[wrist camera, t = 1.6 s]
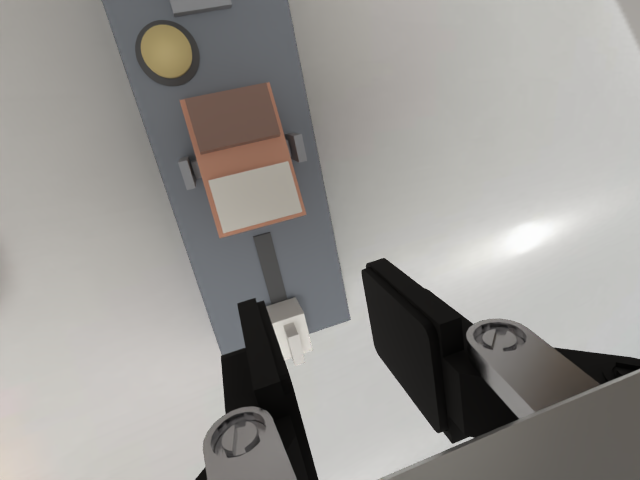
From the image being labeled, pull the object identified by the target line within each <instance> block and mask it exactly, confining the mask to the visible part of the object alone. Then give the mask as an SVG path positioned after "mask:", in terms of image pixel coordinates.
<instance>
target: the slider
mask: <svg viewBox="0 0 640 480" xmlns="http://www.w3.org/2000/svg"><path fill="white" fill-rule="evenodd" d="M266 308H267V311H268V314H269V317H270V320H271V322H272V325H273V328H274V331H275V334H276V337H277V340H278V343H279V346H280V349H281V352H282V355H283V358H284V360H286V359H289V358H292V359H293V361H294V364H295V366H298V365H301V364H304V363H306V362H305V358H304V353H307V352H310V351H313V348H312V344H311V340H310V336H309V332H308V328H307V323H306V319H305V315H304V312H303V310H302V308H301V306H300V305H299V303H298V301H297V299H296V297H294V298H291V299H288V300H285V301H281V302H278V303H275V304H272V305H269V306H266Z"/></svg>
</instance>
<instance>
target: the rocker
mask: <svg viewBox="0 0 640 480" xmlns="http://www.w3.org/2000/svg"><path fill="white" fill-rule="evenodd" d="M179 101H180V104H181V107H182V111H183V114H184V118H185V121H186V125H187V128H188V132H189V135H190V138H191V142H192V145H193V149H194V152H195V156H196V159H197V163H198V166H199V169H200V173H201V176H202V180H203V183H204V187H205V190H206V194H207V197H208V201H209V204H210V207H211V211H212V214H213V218H214V221H215V225H216V228H217V232H218V235H219V238H224V237H228V236H231V235H235V234H239V233H242V232H246V231H250V230H253V229H257V228H261V227H264V226H268V225H272V224H275V223H279V222H283V221H286V220H290V219H294V218H297V217H301V216H304V215H307V214H306V211H305V207H304V203H303V200H302V196H301V193H300V189H299V186H298V182H297V178H296V175H295V171H294V168H293V164H292V161H291V157H290V153H289V150H288V146H287V143H286V139H285V136H284V132H283V128H282V125H281V121H280V118H279V114H278V111H277V107H276V103H275V100H274V96H273V93H272V89H271V86H270V82H268V83H261V84H256V85H251V86H246V87H241V88H236V89H231V90H226V91H221V92H216V93H211V94H206V95H201V96H196V97H191V98H186V99H183V100H179Z"/></svg>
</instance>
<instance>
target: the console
mask: <svg viewBox="0 0 640 480" xmlns="http://www.w3.org/2000/svg"><path fill="white" fill-rule="evenodd" d="M102 2H103V5H104V8H105V11H106V14H107V17H108V20H109V23H110V26H111V29H112V32H113V35H114V38H115V41H116V44H117V47H118V50H119V53H120V56H121V59H122V62H123V64H124V67H125V70H126V73H127V76H128V79H129V82H130V85H131V88H132V91H133V94H134V97H135V100H136V103H137V106H138V109H139V112H140V115H141V118H142V121H143V124H144V127H145V130H146V132H147V135H148V138H149V141H150V144H151V147H152V150H153V153H154V156H155V159H156V162H157V165H158V168H159V171H160V174H161V177H162V180H163V183H164V186H165V189H166V192H167V195H168V198H169V200H170V203H171V206H172V209H173V212H174V215H175V218H176V221H177V224H178V227H179V230H180V233H181V236H182V239H183V242H184V245H185V248H186V251H187V254H188V257H189V260H190V263H191V266H192V268H193V271H194V274H195V277H196V280H197V283H198V286H199V289H200V292H201V295H202V298H203V301H204V304H205V307H206V310H207V313H208V316H209V319H210V322H211V325H212V328H213V331H214V334H215V336H216V339H217V342H218V345H219V348H220V351H221V354H222V355H224V354H227V353H230V352H233V351H236V350H239V349H242V348H245V342H244V337H243V332H242V327H241V322H240V316H239V311H238V306H237V303H240V302H243V301H246V300H250V299H253V298H256V302H260V301H263V300H264V302H265V305H266V306H269V305H272V304H275V303H278V302H281V301H285V300H288V299H291V298H294V297H296V299H297V301H298V303H299V305H300V306H301V308H302V310H303V312H304V315H305V319H306V323H307V328H308V332H309V334H310V333H313V332H316V331H319V330H322V329H325V328H328V327H331V326H334V325H337V324H340V323H343V322H346V321H349V320H351V319H350V314H349V309H348V304H347V299H346V294H345V289H344V284H343V279H342V273H341V268H340V263H339V258H338V253H337V248H336V243H335V238H334V233H333V228H332V223H331V217H330V212H329V207H328V202H327V197H326V192H325V187H324V182H323V177H322V172H321V167H320V161H319V156H318V151H317V146H316V141H315V136H314V131H313V126H312V121H311V116H310V111H309V106H308V100H307V95H306V90H305V85H304V80H303V75H302V70H301V65H300V60H299V55H298V50H297V44H296V39H295V34H294V29H293V24H292V19H291V14H290V9H289V4H288V0H102ZM268 82H270V86H271V89H272V93H273V96H274V100H275V103H276V107H277V111H278V114H279V118H280V121H281V125H282V128H283V132H284V136H285V139H286V143H287V146H288V150H289V153H290V157H291V161H292V164H293V168H294V171H295V175H296V178H297V182H298V186H299V189H300V193H301V196H302V200H303V203H304V207H305V211H306V214H307V215H304V216H301V217H297V218H294V219H290V220H286V221H283V222H279V223H275V224H272V225H268V226H264V227H261V228H257V229H253V230H250V231H246V232H242V233H239V234H235V235H231V236H228V237H224V238H219V235H218V232H217V228H216V225H215V221H214V218H213V214H212V211H211V207H210V204H209V201H208V197H207V194H206V190H205V187H204V183H203V180H202V176H201V173H200V169H199V166H198V163H197V159H196V156H195V152H194V149H193V145H192V142H191V138H190V135H189V132H188V128H187V125H186V121H185V118H184V114H183V111H182V107H181V104H180V101H179V100H183V99H186V98H191V97H196V96H201V95H206V94H211V93H216V92H221V91H226V90H231V89H236V88H241V87H246V86H251V85H256V84H261V83H268Z"/></svg>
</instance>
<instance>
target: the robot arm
mask: <svg viewBox="0 0 640 480" xmlns="http://www.w3.org/2000/svg"><path fill="white" fill-rule="evenodd" d="M362 279H363V285H364V290H365V296H366V302H367V307H368V313H369V318H370V324H371V330H372V335H373V341H374V346H375V349H376V351H377V353H378V355H379V356H380V358H381V359H382V360H383V362H384V363H385V364H386V366H387V367H388V368H389V370H390V371H391V372H392V374H393V375H394V376H395V378H396V379H397V380H398V382H399V383H400V384H401V386H402V387H403V388H404V390H405V391H406V392H407V394H408V395H409V397H410V398H411V399H412V401H413V402H414V403H415V405H416V406H417V407H418V409H419V410H420V411H421V413H422V414H423V415H424V417H425V418H426V419H427V421H428V422H429V423H430V425H431V426H432V427H433V429H434V430H435V431H436V432H437V433H440V432H444V434H445V435H446V436H447V437H448V439H449V440H450V441H451V443H452V444H453V443H456V442H458V441H460V440H463V439H465V438H467V437H474V438H473V439H471V440H469V441H466V442H464V443H462V444H459V445H457V446H455V447H452V448H450V449H448V450H445V451H443V452H441V453H438V454H436V455H434V456H431V457H429V458H427V459H424V460H422V461H420V462H417V463H415V464H413V465H410V466H408V467H406V468H403V469H401V470H399V471H396V472H394V473H392V474H389V475H387V476H385V477H382V478H380V479H378V480H640V359H637V358H632V357H624V356H616V355H608V354H600V353H592V352H584V351H577V350H569V349H561V348H553V347H552V346H550V345H549V344H548V343H546V342H545V341H544V340H543V339H541V338H540V337H539V336H537V335H536V334H535V333H534V332H532V331H531V330H530V329H528V328H527V327H525V326H524V325H522V324H520V323H517V322H514V321H511V320H506V319H487V320H482V321H479V322H477V323H474V324H473V323H471V322H470V321H469V320H467V319H466V318H465V317H463V316H462V315H461V314H459V313H458V312H457V311H455V310H454V309H453V308H451V307H450V306H449V305H448V304H446V303H445V302H444V301H442V300H441V299H440V298H438V297H437V296H436V295H434V294H433V293H432V292H430V291H429V290H427V289H424V288H423V287H422V286H420V285H419V284H418V283H416V282H415V281H414V280H413V279H411V278H410V277H409V276H407V275H406V274H405V273H403V272H402V271H401V270H399V269H398V268H397V267H396V266H394V265H393V264H392V263H390V262H389V261H388V260H386V259H385V258H383V259H380V260H376V261H373V262H370V263H367V265H366V269H363V270H362ZM237 306H238V311H239V316H240V322H241V327H242V332H243V337H244V342H245V348H242V349H239V350H236V351H233V352H230V353H227V354H224V355H222V356H221V363H222V375H223V387H224V399H225V412H226V414H225V415H224V416H222V417H221V418H220V419H218V420H217V421H216V422H215V423H214V424H213V425H212V426H211V428H210V429H209V430H208V432H207V434H206V436H205V439H204V441H203V453H204V460H205V468H204V470H203V471H202V472H201V473H200V474H199V476H198V477H197V478H196V479H195V480H318V477H317V473H316V469H315V466H314V462H313V458H312V455H311V451H310V447H309V444H308V440H307V436H306V433H305V429H304V425H303V422H302V418H301V414H300V411H299V407H298V403H297V400H296V396H295V392H294V389H293V385H292V382H291V379H290V375H289V372H288V369H287V366H286V363H285V360H284V358H283V355H282V352H281V349H280V346H279V343H278V340H277V337H276V334H275V331H274V328H273V325H272V322H271V320H270V317H269V314H268V311H267V308H266V305H265V302H264V300H263V301H260V302H256V298H253V299H250V300H246V301H243V302H240V303H237Z"/></svg>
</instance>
